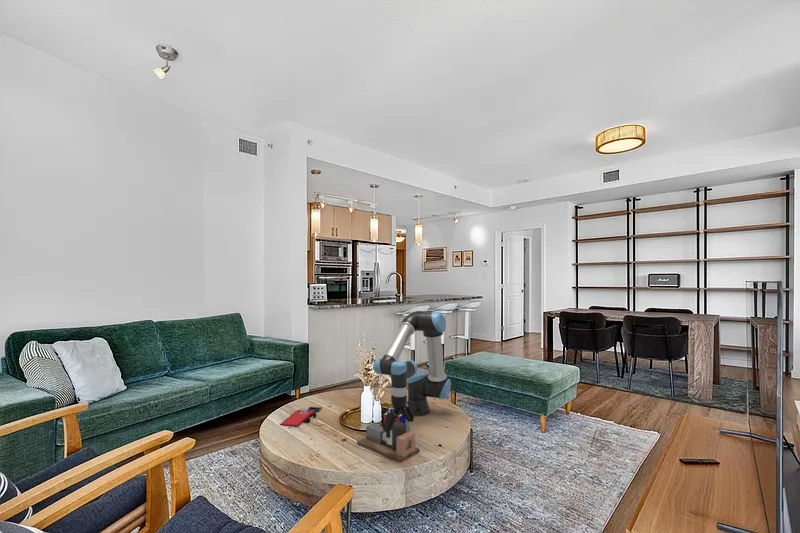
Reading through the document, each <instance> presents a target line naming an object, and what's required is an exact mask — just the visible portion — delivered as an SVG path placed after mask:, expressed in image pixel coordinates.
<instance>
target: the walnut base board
mask: <svg viewBox="0 0 800 533" xmlns="http://www.w3.org/2000/svg"><path fill="white" fill-rule="evenodd" d="M356 445H358V446H361V447H363V448H364V449H367V450H370V451H373V452H374V453H377V454H379V455H381V456H383V457H385V458H388V459H390V460H393V461H395V462H397V463H399V464H400V463H402V462H405V461H406V460H408V459H410V458H411V457H413V456H415V455H416V454H419V453H420V448H418V447H416V446H415V451H413V452H411V453H410V454H408V455H406V456H404V457H401V456H399V455H396V447H394V446H391V445H389V444H387V442H386V443H384V444H381V445H379V444H376V443H374V442H371V441H369V440H367V439H366V436H365V437H363V438H361V439H359V440H356Z"/></svg>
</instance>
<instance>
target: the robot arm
mask: <svg viewBox="0 0 800 533" xmlns="http://www.w3.org/2000/svg"><path fill="white" fill-rule="evenodd" d="M446 325H447V321H446V317H445V315H444V313H443V312H440V311H430V310H429V311H424V310H416V311H413V312H411V313H409V314H408V315H406V316H405V317H404V318H403V319H402V320H401V322H400V324H399V325H398V326H399V327H398V330H397V332H396V334H395V335H394V337H393V339H392V341H391V343H390V344H389V346H388V348H387V349H386V351H385V353H384V354H383V356H382V358H377V359H375V361H374V362H373V366H372V367H373V371H374V373H375V374H379V375H383V376H384V375H386V376H391V377H390V378H391V380H390V390H391V393H390V394H391V396H390V399H391V400H390V403H391V405H392V406H391V408H390V407H387V410H386V412H387V416H386V419H385V422H384V426H382V427H383V430H385V431H386V437H387V444H389V445H392V430H391V429H392V426H393V424H394V422H395V420H396V418H397V417H398V416H399V415H400V414H403V415H404V417H405V418H406V432H408V431H410V432H412V423H413V422H414V419H415V417H421V416H423V417H424V416H427V415H428V414H430V411H431V410H430V406H429V402H428V398H427V397H429V398H436V399H439V400H446V399H447V398H448V397H449V395H450V393H451V388H452V381H451V379H449V378H448V375H447V373H446V372H445V369H444V368H445V367H444V358H443V347H442V346H443V345H442V336H443V335H444V332H445V331H446V328H447V326H446ZM419 331H420V332H422V333H423V336H424V338H426V348H427V358H428V370H429V374H428V375H427V373H426V372H418V369H419V368H418V364H417V363H416V361H414V360H410V359H409V360H406V361H400V360H399V358H400V356H401V354H402V352H403V350H404V348H405V346H406V345H407V343H408V341H409V340H410V337H411V336H412V335H414V333H415V332H419ZM394 414H395V415H394Z"/></svg>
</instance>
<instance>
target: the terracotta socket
mask: <svg viewBox="0 0 800 533" xmlns="http://www.w3.org/2000/svg"><path fill="white" fill-rule="evenodd" d="M407 441H409V447H407V448H406V442H407ZM415 447H416V433H415V432H412V431H411V432H410V431H408V432H406V433H404V434H402V435H400V436H398V437H396V455H399V456H401V457H404V456H406V455H408V454H410V453H411V452H413V451H415Z"/></svg>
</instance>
